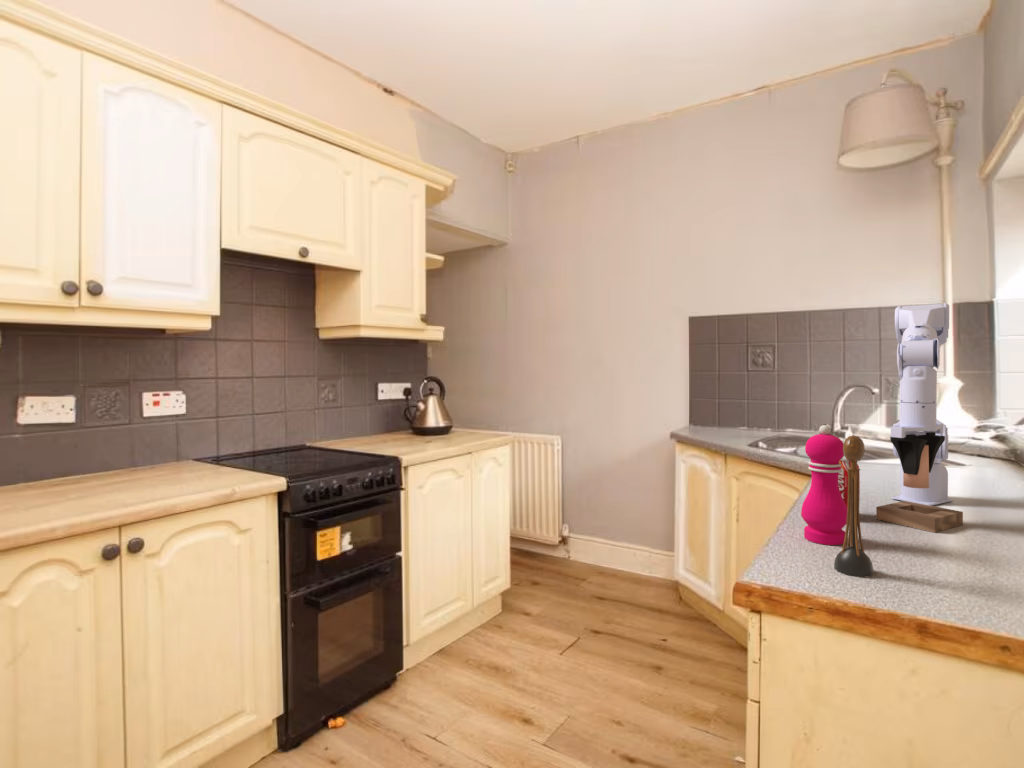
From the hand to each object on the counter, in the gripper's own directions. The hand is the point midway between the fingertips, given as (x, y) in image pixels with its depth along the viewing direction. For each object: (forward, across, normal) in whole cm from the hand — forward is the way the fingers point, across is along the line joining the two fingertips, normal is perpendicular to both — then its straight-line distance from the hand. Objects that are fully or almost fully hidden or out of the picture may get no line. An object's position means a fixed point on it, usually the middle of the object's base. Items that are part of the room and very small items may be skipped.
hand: (917, 472), depth 106 cm
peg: (+3, 0, 0) cm, 3 cm away
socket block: (+10, 0, 0) cm, 10 cm away
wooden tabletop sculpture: (+10, +36, +10) cm, 39 cm away
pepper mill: (+10, +26, -2) cm, 28 cm away
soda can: (+10, +9, -10) cm, 16 cm away
